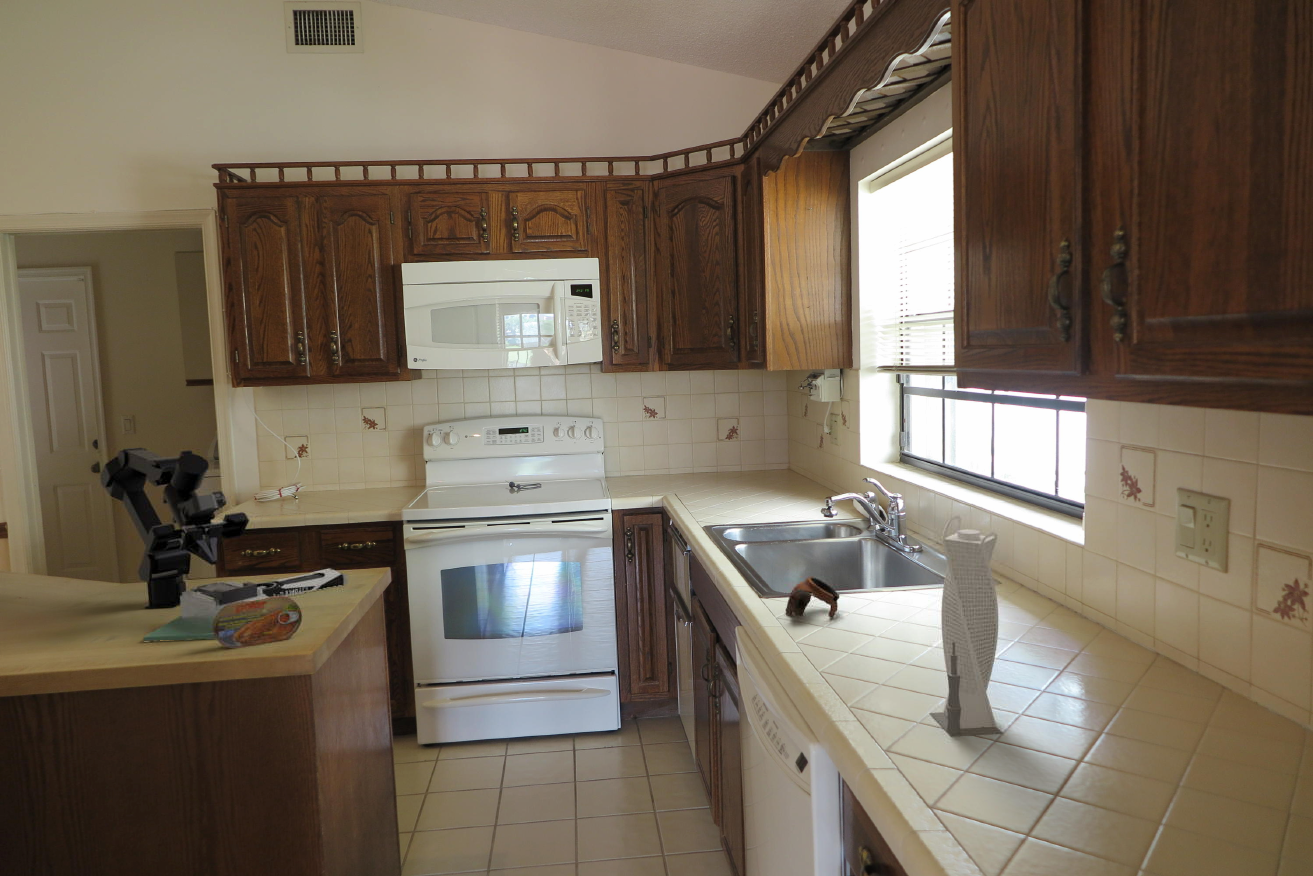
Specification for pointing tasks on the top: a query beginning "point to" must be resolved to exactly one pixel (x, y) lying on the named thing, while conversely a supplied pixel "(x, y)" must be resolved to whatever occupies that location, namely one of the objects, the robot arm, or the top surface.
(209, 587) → the grey rectangular slab
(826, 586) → the brown curved loop
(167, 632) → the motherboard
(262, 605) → the tin
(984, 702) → the skyscraper
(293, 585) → the graphics card
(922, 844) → the top surface
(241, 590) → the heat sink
